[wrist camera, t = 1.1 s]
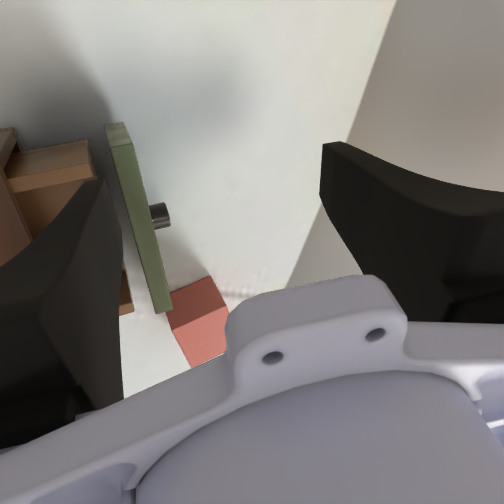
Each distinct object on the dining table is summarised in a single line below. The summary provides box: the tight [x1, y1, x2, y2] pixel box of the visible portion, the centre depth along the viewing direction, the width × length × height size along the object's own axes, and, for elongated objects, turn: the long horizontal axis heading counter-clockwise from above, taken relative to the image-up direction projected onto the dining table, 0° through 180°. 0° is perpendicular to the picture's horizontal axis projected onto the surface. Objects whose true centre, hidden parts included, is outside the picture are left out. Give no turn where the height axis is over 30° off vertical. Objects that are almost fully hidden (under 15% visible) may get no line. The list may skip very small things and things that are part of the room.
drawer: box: [4, 122, 173, 316], centre depth 25 cm, size 14×11×5 cm
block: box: [166, 276, 229, 368], centre depth 34 cm, size 4×4×4 cm
